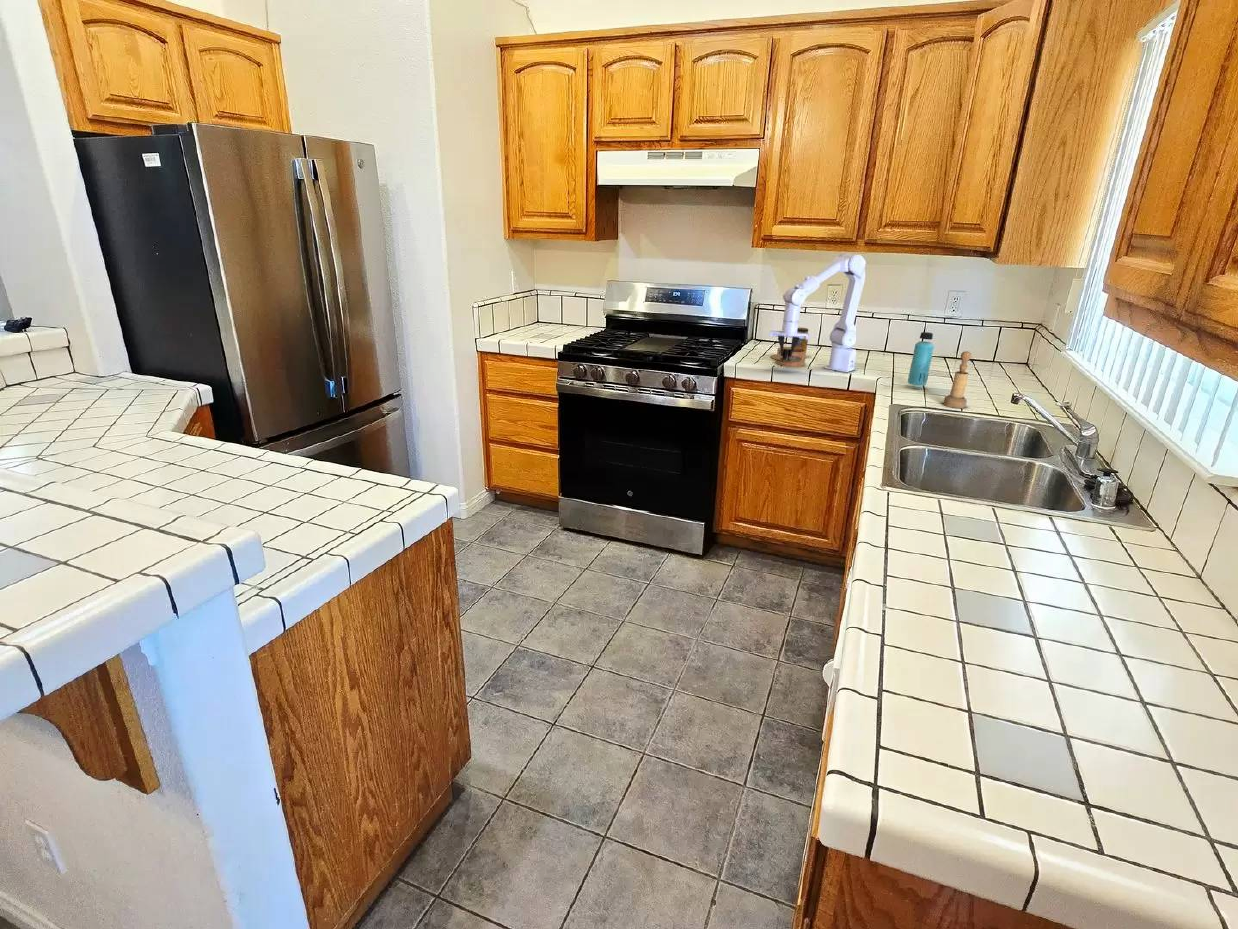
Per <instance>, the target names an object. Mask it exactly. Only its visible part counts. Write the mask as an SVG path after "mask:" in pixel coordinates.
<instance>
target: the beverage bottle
mask: <svg viewBox="0 0 1238 929" xmlns="http://www.w3.org/2000/svg"><path fill="white" fill-rule="evenodd" d="M933 337H934V333H933V332H929V331H928V332H927V331H922V332H920V335H919V339H921V340H919V341H918V342H916V343H915V344H914V350H913V354H912V358H911V364H910V367H909V373H908V378H907V383H908V384H909V385H912V386H916V387H917V386H919V387H923V386H926V385H927V382H928V378H929V374H930V373H929V372H930V369H931V368H930V367H931V363H932V359H933V352H934V348H935V345H934V344H933V343H932V342H931V341H930V340H933V339H934V338H933ZM924 340H929V341H924Z"/></svg>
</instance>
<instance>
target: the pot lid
mask: <svg viewBox="0 0 1238 929" xmlns="http://www.w3.org/2000/svg"><path fill="white" fill-rule="evenodd" d="M789 356H790V349H789V348H784V349H783V356H781V354H777V353H775V354H770V355H769V359H771V360H773V361H775V362H776V361H779V362H785V363H794V362H800V361H802V358H800V357H798V356H794V355H792V356H791V357H789Z"/></svg>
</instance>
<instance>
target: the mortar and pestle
mask: <svg viewBox="0 0 1238 929" xmlns="http://www.w3.org/2000/svg"><path fill="white" fill-rule="evenodd" d="M971 358H972V353H971V351H962V352H961V354H960V359H961V364H959V370H957V371H955V372H954V376H953V381H952V384H951V385H952V386H951V388H950V394H947V395H946V396H945V397H944V399H943V405H944V406H946V407H949V408H954V409H964V408H966V405H967V402H968V400H967V399H966V397H964V395H965V390H966V386H967V382H968V378H969V375H970V374H969V372H967V371H966V370H967V369H968V364H967V363H968V362H969V361H970V360H971Z"/></svg>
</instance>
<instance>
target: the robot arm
mask: <svg viewBox="0 0 1238 929" xmlns="http://www.w3.org/2000/svg"><path fill="white" fill-rule="evenodd" d="M866 264H867V261H866V260H865V258H864V257H863V256H862V255H861V254H851V253H846V252H843V253H840V254H838V256H836V257H834V259H833V260H832V261H831V262H830V263H829V264H828V265H827V266H824V268H822V269H821V270H820V271H819V272H817V274H815V275H806V276H805V277H804V279H803V280H801V282H799V283H796V284H795V285H794V286H793V287H789V288H788V289H787V290H786V291H785V292H784V294H783V295H782V299H783V301H784V312H783V320H782V328H781V330H769V337H777V341H778V344H779V347H780V349H781V356H783V347H785V338H788V339H789V338H790V339H791V343H790V344H791V345H790V347H791V350H790V356H789V357H791V356H792V353H793V350H794V348H795V346H796V345H797V343H798V341H799V338H801V339H808V340H809V336H810V334H809V332H808V333H800V332H797V329H798V328H799V322H800V316H801V315H800V314H801V307H802V304H803V303H804V302H805V301H806V298H807V297H808V296H810V295H811V294H813V293H814V292H815V291H817V290H818V289H819V288H820V284H822V283H823V282H825V281H827V279H829V278H831V277H832V276H834V275H835V274H837V273H844V275H845V276H846V278H848V286H847V289H846V293H845V297H844V301H843V305H842V309H841V313H840V317H839V320H838V321H837V322H836V323H835V324H834V326H833V329H832V330H831V331H830V334H829V341H830V342H831V349H830V354H829V355H830V356H829V361H828V365H826V366H824V369H826V370H827V369H829V370H834V371H838V372H843V373H849V372H852V371H855V370H856V368H855V366H856V362H857V355H858V354H857V352H858V351H857V350H856V349H855V348H853V346H854V345H855V344H856V342H857V331H858V330H857V327H856V325H855V320H856V316H857V312H858V309H859V304H860V301H861V296H862V293H863V289H864V286H865V281H866V277H867V276H866Z"/></svg>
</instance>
